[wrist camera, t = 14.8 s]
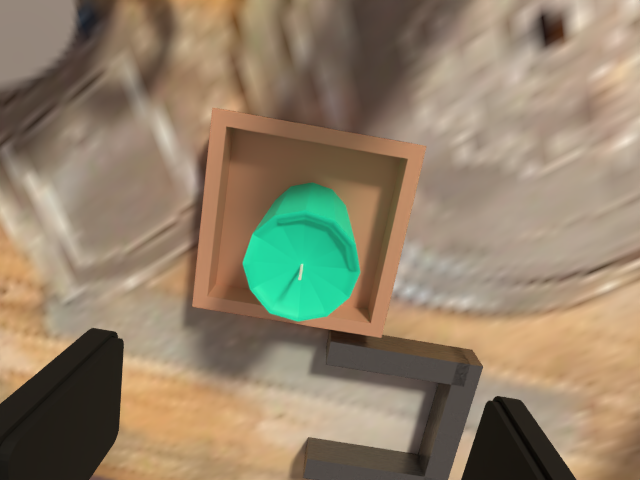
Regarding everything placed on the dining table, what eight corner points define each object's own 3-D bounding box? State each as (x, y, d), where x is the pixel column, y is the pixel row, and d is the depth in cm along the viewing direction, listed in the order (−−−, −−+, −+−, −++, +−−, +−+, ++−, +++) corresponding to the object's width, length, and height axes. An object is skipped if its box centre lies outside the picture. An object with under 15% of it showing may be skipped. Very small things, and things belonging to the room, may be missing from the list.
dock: (472, 350, 35) (483, 366, 33) (434, 475, 38) (441, 499, 36) (330, 326, 35) (330, 341, 32) (304, 455, 38) (303, 478, 36)
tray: (415, 144, 31) (426, 146, 27) (375, 317, 34) (381, 337, 31) (225, 109, 30) (212, 107, 27) (205, 288, 34) (192, 306, 31)
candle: (328, 168, 30) (330, 194, 19) (362, 240, 32) (383, 307, 20) (254, 203, 31) (212, 249, 19) (291, 273, 32) (272, 354, 21)
